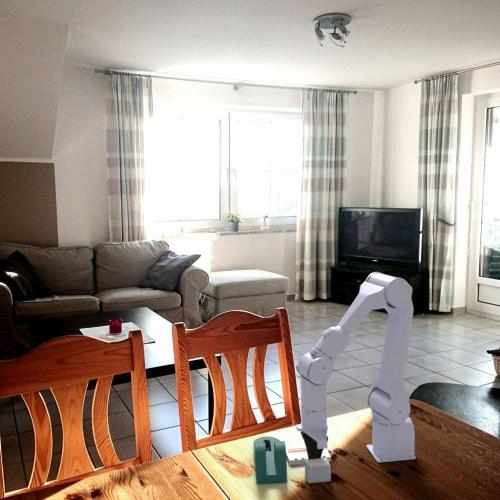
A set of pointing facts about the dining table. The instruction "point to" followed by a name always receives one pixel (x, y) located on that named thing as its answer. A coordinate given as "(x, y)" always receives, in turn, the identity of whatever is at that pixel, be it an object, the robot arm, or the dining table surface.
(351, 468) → the dining table surface
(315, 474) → the stub
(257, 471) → the bracket
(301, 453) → the spiral notebook
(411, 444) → the robot arm
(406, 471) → the dining table surface
